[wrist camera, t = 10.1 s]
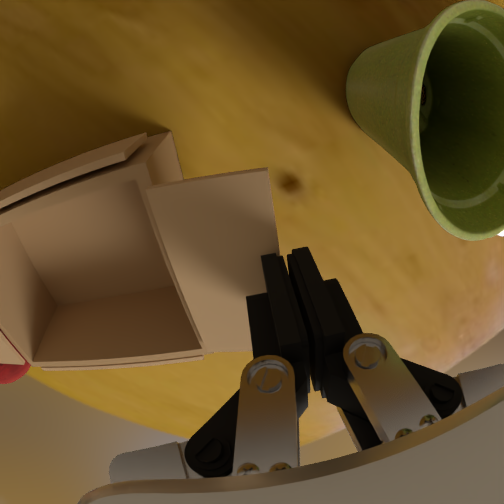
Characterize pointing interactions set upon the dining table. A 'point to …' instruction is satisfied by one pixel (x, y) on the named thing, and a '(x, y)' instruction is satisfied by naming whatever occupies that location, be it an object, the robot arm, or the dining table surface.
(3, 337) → the flap
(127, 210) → the carton
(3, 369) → the onion
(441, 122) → the plant pot
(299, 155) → the dining table surface
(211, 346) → the flap
